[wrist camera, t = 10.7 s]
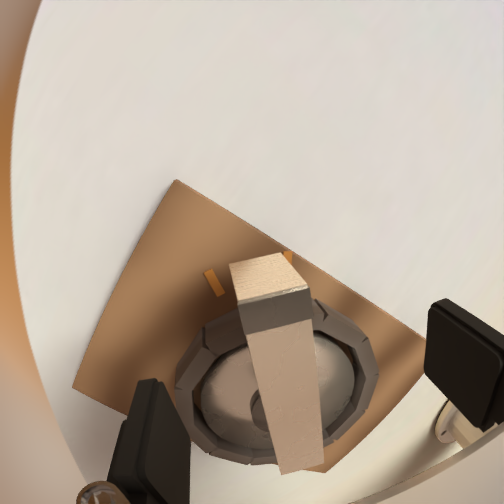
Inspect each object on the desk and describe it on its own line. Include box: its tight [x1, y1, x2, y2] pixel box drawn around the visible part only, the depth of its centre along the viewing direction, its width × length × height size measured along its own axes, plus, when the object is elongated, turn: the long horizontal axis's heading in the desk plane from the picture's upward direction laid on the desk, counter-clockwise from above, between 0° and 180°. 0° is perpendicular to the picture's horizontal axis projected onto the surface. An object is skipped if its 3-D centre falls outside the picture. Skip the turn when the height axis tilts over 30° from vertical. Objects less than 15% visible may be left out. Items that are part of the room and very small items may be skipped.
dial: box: [201, 252, 354, 475], centre depth 16 cm, size 15×10×7 cm, turn 11°
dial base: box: [72, 179, 426, 473], centre depth 20 cm, size 24×16×4 cm
